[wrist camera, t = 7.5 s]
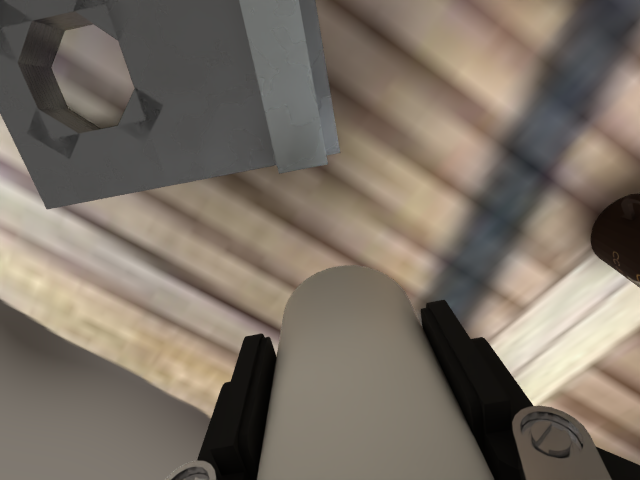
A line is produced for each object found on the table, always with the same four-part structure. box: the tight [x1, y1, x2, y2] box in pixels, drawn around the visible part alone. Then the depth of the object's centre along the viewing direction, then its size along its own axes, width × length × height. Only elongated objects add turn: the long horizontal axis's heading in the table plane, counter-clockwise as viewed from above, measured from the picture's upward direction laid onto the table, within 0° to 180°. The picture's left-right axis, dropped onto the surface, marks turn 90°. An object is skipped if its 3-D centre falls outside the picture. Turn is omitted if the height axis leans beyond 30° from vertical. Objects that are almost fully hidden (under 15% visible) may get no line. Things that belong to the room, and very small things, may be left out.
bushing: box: [257, 265, 494, 480], centre depth 9 cm, size 5×5×8 cm
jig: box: [0, 0, 340, 209], centre depth 22 cm, size 22×16×7 cm
